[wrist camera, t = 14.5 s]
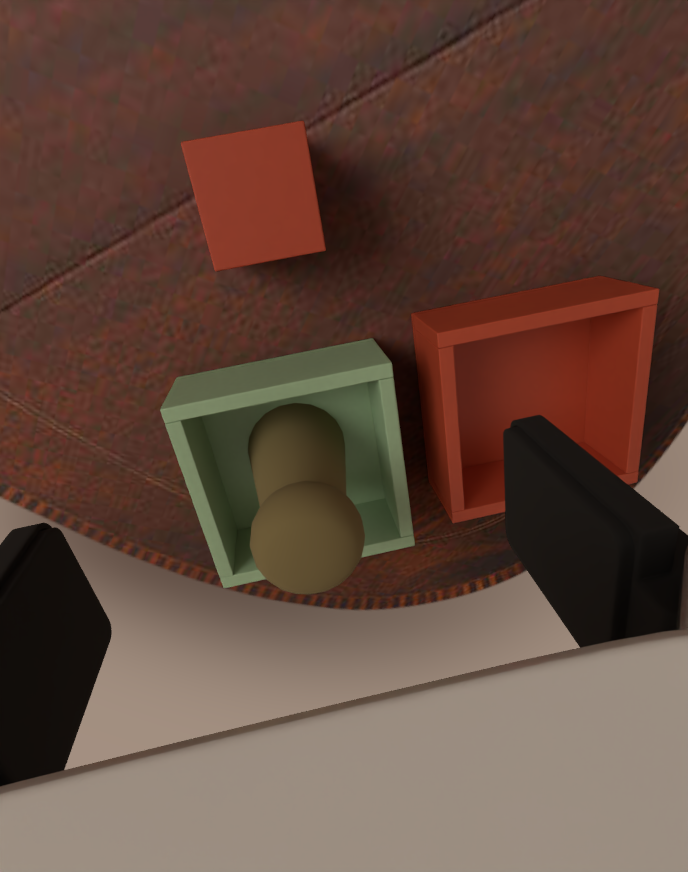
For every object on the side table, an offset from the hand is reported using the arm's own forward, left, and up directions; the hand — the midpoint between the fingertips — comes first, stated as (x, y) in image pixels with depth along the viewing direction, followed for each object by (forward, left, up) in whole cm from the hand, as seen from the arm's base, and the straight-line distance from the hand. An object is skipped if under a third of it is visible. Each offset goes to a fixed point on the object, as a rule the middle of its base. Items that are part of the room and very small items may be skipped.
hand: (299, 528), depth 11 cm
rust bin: (+7, +13, -20) cm, 25 cm away
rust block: (-6, 0, -20) cm, 21 cm away
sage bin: (+8, -1, -20) cm, 21 cm away
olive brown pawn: (+8, -1, -19) cm, 21 cm away
